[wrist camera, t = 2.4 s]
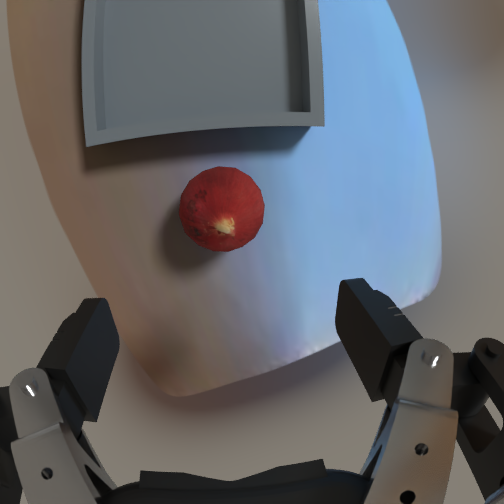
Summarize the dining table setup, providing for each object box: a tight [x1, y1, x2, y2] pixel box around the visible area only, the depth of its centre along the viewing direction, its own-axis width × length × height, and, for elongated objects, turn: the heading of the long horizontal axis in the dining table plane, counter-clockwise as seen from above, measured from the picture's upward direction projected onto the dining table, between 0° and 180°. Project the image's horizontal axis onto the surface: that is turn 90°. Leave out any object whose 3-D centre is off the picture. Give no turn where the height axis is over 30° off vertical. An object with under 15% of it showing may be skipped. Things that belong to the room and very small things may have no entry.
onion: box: [179, 166, 265, 252], centre depth 21 cm, size 6×6×8 cm
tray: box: [82, 0, 324, 147], centre depth 17 cm, size 17×17×3 cm
